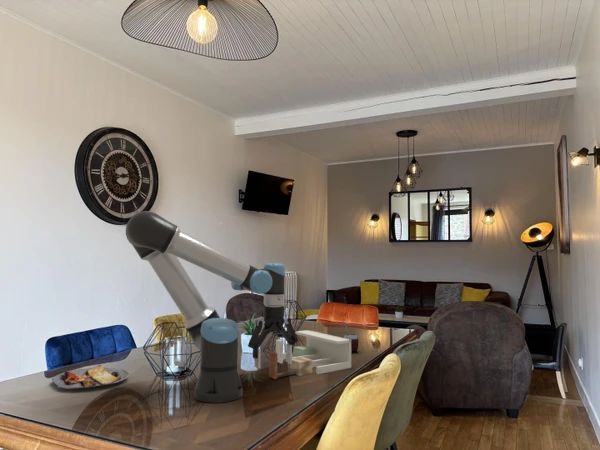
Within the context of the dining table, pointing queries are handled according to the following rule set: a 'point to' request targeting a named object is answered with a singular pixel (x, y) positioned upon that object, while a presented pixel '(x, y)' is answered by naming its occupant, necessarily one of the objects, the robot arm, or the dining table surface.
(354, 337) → the mate gourd
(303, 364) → the birch block
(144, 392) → the dining table surface
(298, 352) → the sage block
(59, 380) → the food plate
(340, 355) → the lane rack
